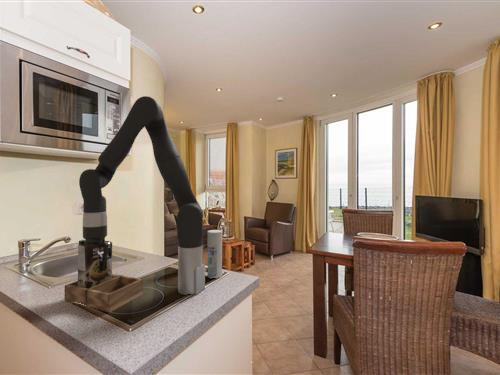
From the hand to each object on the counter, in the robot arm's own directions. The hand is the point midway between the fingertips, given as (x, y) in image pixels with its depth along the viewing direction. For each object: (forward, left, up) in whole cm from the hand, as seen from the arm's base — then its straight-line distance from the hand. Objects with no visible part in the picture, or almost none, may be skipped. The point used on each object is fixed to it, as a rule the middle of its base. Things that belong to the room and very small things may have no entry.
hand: (95, 269), depth 88 cm
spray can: (-32, -32, -10) cm, 46 cm away
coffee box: (0, 0, -7) cm, 7 cm away
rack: (-5, 0, -9) cm, 11 cm away
